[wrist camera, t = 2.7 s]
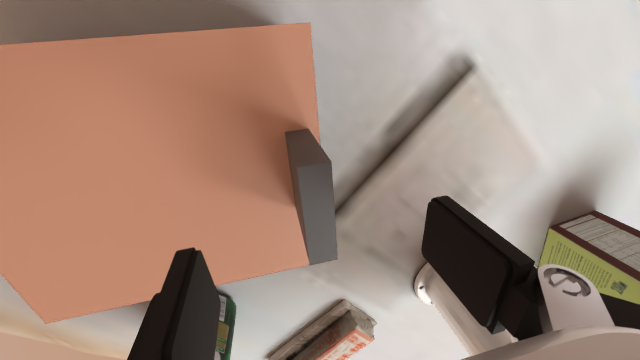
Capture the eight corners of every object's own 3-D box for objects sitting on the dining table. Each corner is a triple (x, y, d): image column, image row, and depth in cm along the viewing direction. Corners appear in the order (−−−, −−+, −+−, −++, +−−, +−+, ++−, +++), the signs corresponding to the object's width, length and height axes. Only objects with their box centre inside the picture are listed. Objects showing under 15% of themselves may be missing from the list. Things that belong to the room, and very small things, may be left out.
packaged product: (352, 322, 39) (386, 343, 43) (343, 295, 43) (374, 317, 48) (267, 386, 41) (308, 400, 46) (266, 355, 46) (303, 370, 50)
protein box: (533, 283, 53) (627, 361, 40) (547, 226, 46) (669, 299, 33) (576, 267, 54) (682, 338, 41) (597, 209, 47) (735, 272, 33)
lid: (307, 24, 15) (340, 4, 9) (327, 252, 23) (351, 323, 17) (-160, 58, 12) (-608, 62, 6) (54, 311, 20) (-35, 425, 14)
